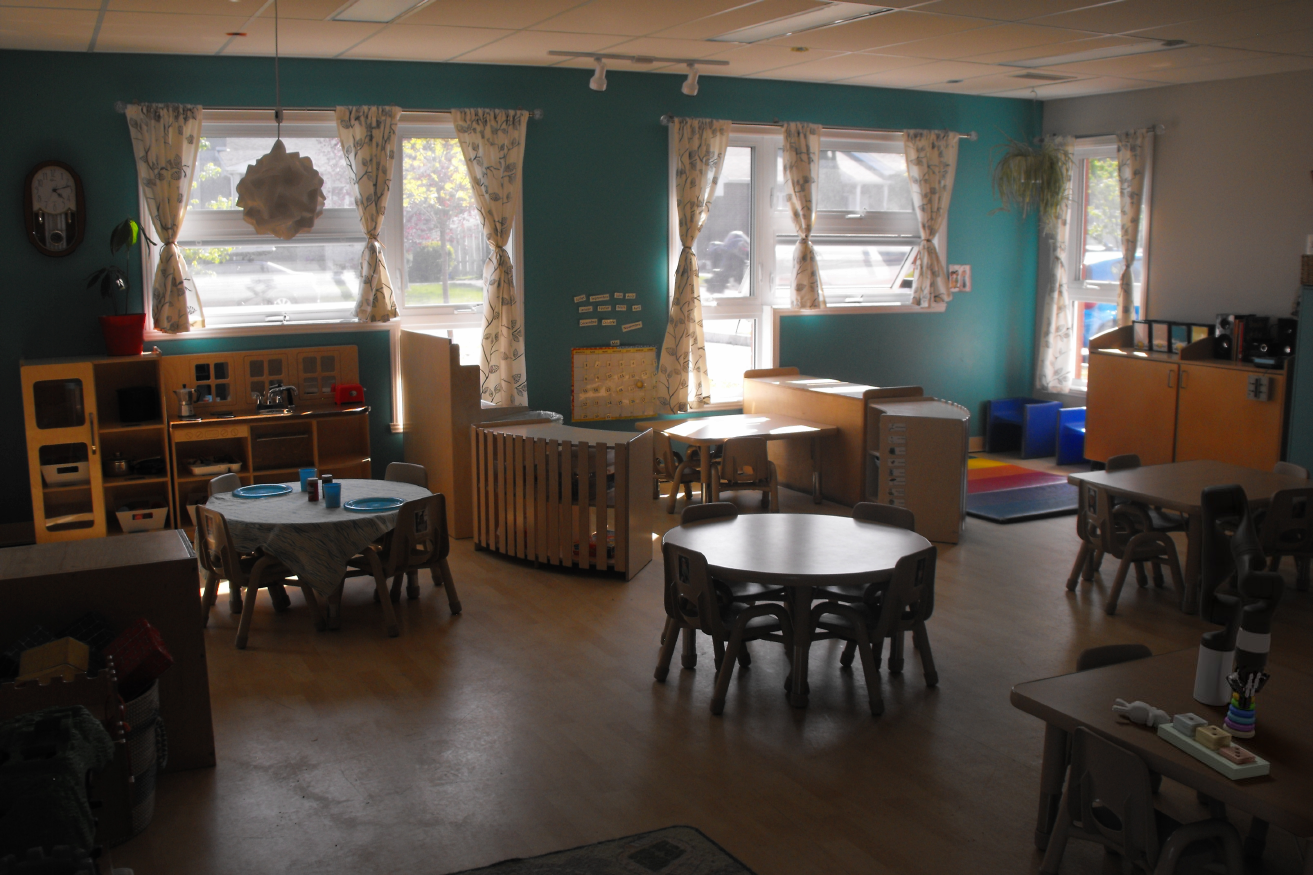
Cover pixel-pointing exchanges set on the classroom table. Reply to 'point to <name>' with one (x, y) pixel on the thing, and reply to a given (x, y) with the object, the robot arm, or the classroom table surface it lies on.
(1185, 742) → the number board
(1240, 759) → the tile
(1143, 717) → the bunny figurine
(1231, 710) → the stacking toy
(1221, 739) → the tile
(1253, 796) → the classroom table surface
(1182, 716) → the grey block
